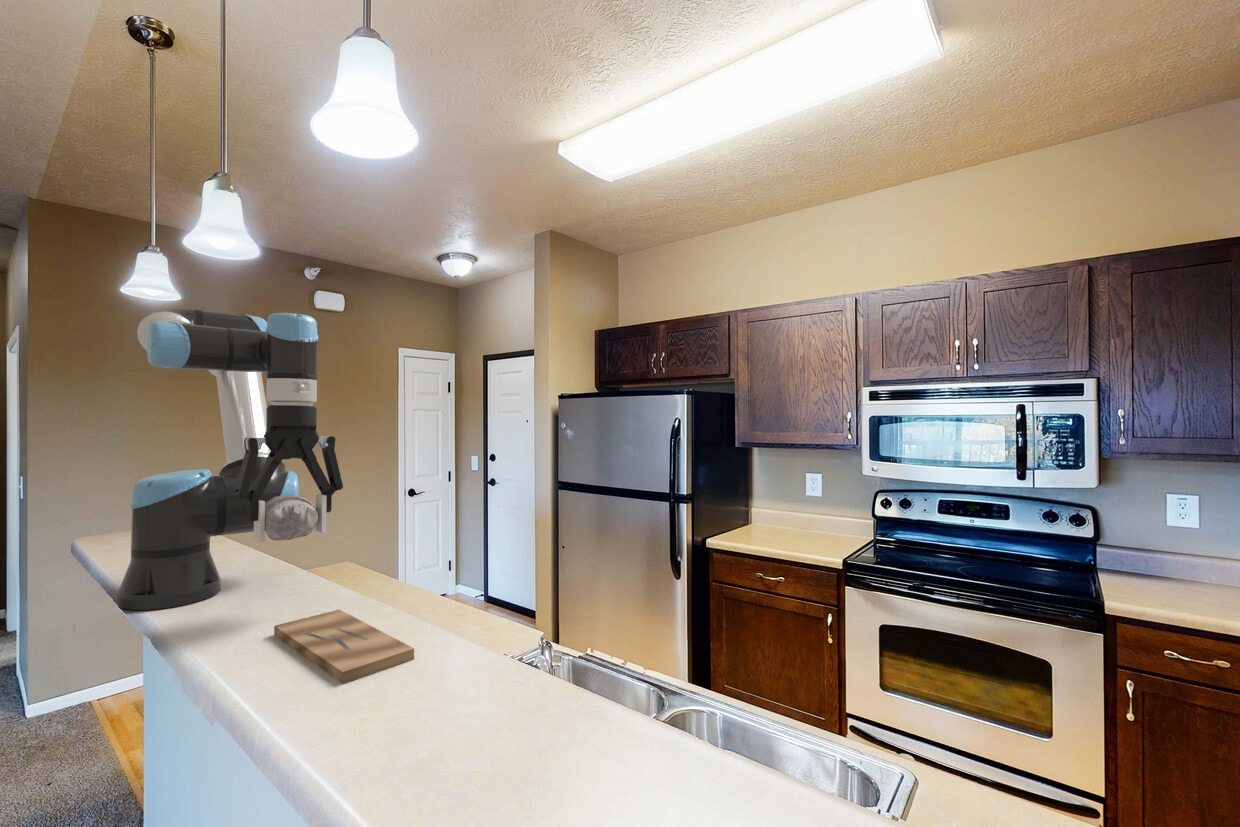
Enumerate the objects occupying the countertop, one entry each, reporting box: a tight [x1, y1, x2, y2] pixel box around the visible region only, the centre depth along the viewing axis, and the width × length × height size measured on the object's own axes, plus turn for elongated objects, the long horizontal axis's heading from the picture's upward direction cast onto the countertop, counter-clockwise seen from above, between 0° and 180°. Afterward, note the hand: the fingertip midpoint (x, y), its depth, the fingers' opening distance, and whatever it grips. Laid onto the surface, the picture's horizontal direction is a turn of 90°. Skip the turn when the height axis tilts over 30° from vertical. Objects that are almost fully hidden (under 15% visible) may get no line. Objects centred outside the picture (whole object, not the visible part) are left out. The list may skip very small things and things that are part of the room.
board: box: [273, 609, 415, 684], centre depth 86 cm, size 24×10×2 cm, turn 50°
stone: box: [265, 495, 318, 542], centre depth 98 cm, size 8×12×7 cm, turn 36°
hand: (291, 535), depth 98 cm, fingers closed on stone, 9 cm apart
